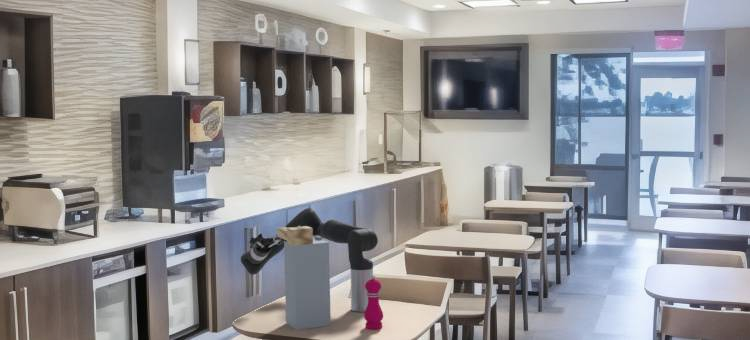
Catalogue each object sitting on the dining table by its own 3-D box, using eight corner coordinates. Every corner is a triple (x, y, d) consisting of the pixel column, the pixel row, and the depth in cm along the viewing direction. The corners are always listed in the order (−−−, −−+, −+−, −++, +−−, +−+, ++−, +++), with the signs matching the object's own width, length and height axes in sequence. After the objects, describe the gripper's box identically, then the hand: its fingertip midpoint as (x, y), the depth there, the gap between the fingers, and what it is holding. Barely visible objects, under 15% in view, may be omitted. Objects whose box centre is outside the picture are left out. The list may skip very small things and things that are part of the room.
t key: (290, 235, 329) (290, 220, 328) (312, 243, 307) (312, 228, 307) (271, 237, 325) (271, 222, 325) (292, 245, 304) (292, 229, 303)
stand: (319, 318, 322) (317, 235, 320) (330, 325, 312) (328, 239, 310) (286, 323, 316) (283, 238, 314) (296, 330, 306) (294, 242, 304)
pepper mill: (381, 330, 304) (380, 277, 302) (362, 329, 305) (361, 276, 304) (385, 325, 311) (384, 273, 310) (366, 324, 312) (365, 273, 311)
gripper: (278, 255, 353) (289, 241, 340) (246, 258, 347) (256, 244, 333) (275, 239, 356) (285, 225, 343) (243, 242, 349) (253, 227, 336)
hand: (271, 234), depth 338 cm, fingers open, 8 cm apart
